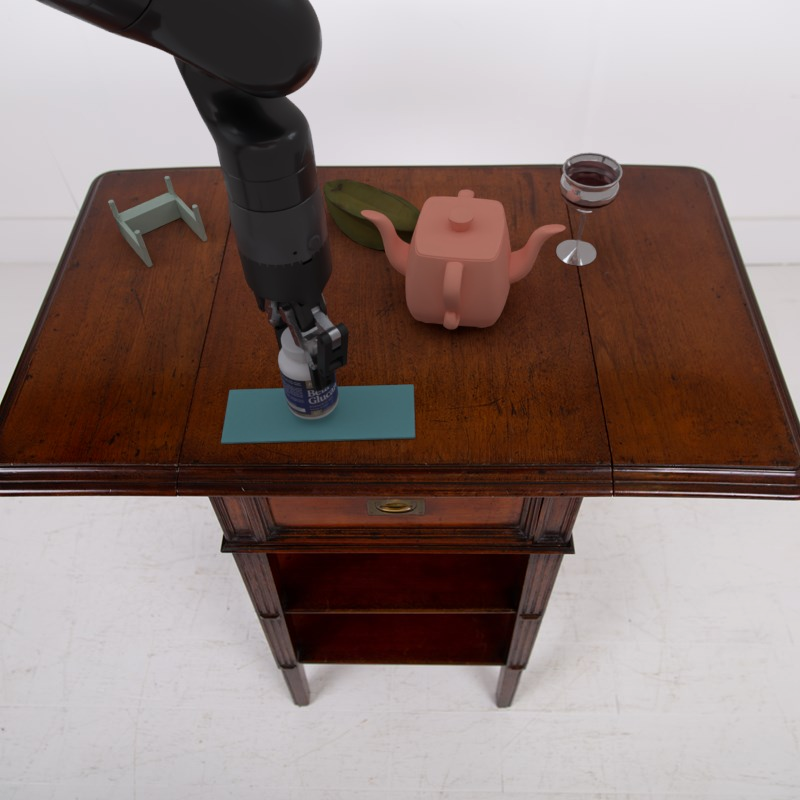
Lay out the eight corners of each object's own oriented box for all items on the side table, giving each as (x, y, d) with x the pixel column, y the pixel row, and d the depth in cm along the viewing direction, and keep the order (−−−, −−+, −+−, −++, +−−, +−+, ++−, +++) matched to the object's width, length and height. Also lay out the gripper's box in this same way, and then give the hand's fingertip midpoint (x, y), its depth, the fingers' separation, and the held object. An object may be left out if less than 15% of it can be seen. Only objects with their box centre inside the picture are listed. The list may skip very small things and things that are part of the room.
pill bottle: (316, 430, 77) (303, 367, 69) (277, 405, 79) (260, 341, 71) (349, 396, 79) (341, 331, 72) (311, 373, 81) (299, 308, 74)
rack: (208, 240, 98) (198, 206, 94) (148, 268, 95) (135, 234, 91) (178, 208, 103) (167, 174, 98) (120, 234, 100) (106, 200, 95)
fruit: (339, 268, 94) (333, 226, 89) (324, 210, 101) (319, 167, 96) (428, 253, 95) (428, 211, 90) (407, 196, 103) (406, 154, 97)
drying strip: (221, 444, 78) (220, 442, 78) (230, 391, 82) (229, 389, 82) (415, 438, 78) (415, 437, 77) (413, 386, 82) (413, 384, 82)
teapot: (366, 290, 91) (358, 204, 82) (476, 238, 97) (481, 152, 87) (438, 367, 84) (439, 282, 74) (553, 306, 89) (568, 219, 79)
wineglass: (591, 230, 97) (608, 148, 88) (612, 264, 93) (633, 182, 84) (540, 240, 96) (553, 157, 87) (560, 275, 92) (575, 192, 83)
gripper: (198, 207, 64) (237, 343, 77) (289, 299, 57) (315, 432, 70) (274, 173, 67) (299, 310, 80) (370, 256, 59) (380, 392, 73)
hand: (307, 366), depth 75 cm, fingers closed on pill bottle, 5 cm apart
